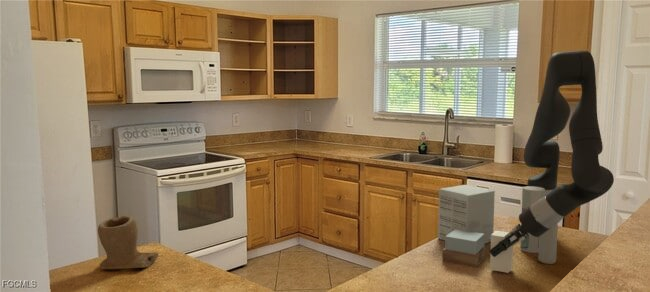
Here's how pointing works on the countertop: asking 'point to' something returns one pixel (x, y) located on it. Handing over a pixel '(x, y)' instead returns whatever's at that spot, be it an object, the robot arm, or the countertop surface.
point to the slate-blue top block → (464, 241)
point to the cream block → (501, 254)
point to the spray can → (528, 199)
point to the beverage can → (548, 246)
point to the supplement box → (466, 210)
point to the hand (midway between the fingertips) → (495, 250)
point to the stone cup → (122, 245)
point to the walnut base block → (463, 257)
